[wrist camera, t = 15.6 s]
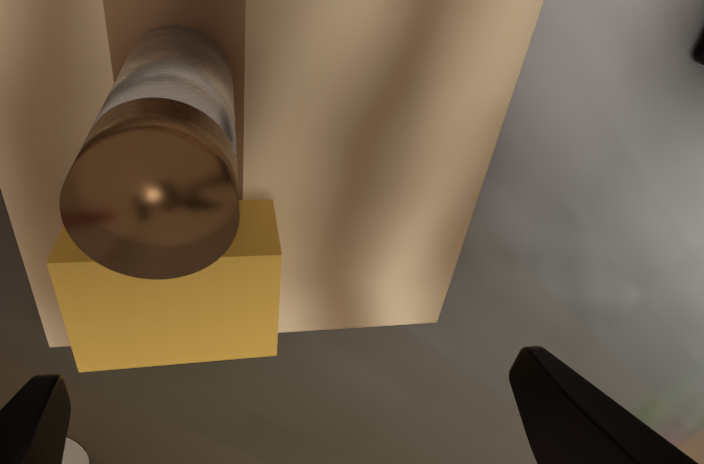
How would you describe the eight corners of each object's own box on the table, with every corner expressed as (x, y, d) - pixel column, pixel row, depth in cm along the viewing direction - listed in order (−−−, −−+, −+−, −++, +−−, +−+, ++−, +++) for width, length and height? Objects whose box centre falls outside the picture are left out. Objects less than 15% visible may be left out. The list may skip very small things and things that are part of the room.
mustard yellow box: (272, 199, 19) (281, 255, 16) (269, 294, 22) (276, 355, 19) (74, 200, 17) (46, 263, 15) (98, 304, 20) (78, 372, 17)
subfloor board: (526, -22, 18) (548, -14, 16) (427, 302, 27) (436, 322, 25) (-62, -103, 13) (-89, -101, 12) (58, 321, 22) (49, 347, 21)
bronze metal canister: (233, 30, 15) (241, 143, 9) (232, 126, 17) (238, 277, 11) (121, 19, 14) (42, 135, 8) (133, 121, 16) (76, 281, 10)
